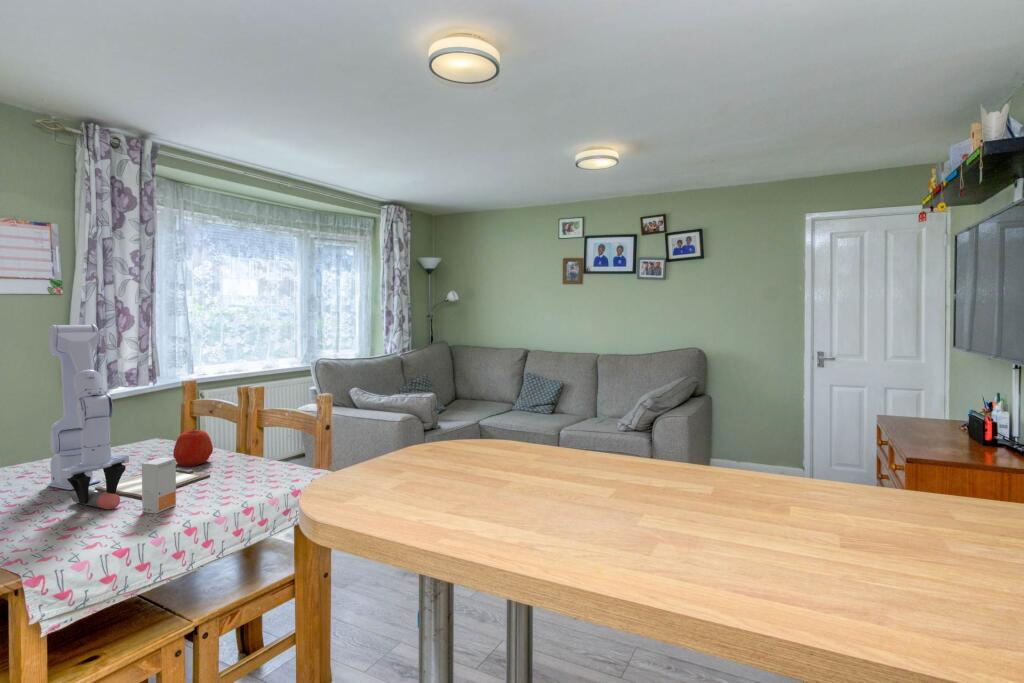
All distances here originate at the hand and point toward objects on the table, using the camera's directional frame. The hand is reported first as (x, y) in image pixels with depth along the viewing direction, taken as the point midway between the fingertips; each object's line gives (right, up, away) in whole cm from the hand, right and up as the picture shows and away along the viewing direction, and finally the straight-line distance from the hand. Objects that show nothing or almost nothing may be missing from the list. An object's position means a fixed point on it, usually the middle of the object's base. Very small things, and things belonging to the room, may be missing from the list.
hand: (97, 498), depth 135 cm
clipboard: (+3, -1, +17) cm, 17 cm away
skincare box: (+16, -2, -2) cm, 17 cm away
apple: (+3, 0, +36) cm, 36 cm away
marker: (0, -1, +1) cm, 1 cm away
